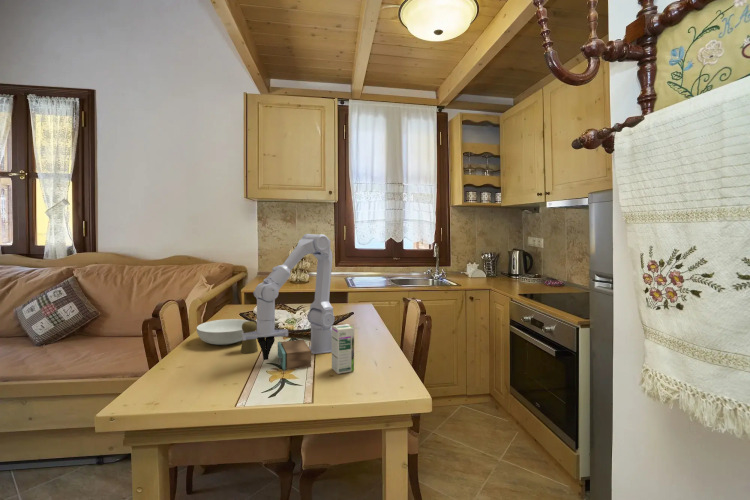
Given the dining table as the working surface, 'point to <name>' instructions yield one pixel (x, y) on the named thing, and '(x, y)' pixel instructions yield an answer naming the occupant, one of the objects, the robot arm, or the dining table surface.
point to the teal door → (281, 355)
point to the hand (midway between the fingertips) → (265, 359)
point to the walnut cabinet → (297, 354)
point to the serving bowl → (221, 331)
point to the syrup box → (343, 348)
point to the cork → (250, 344)
